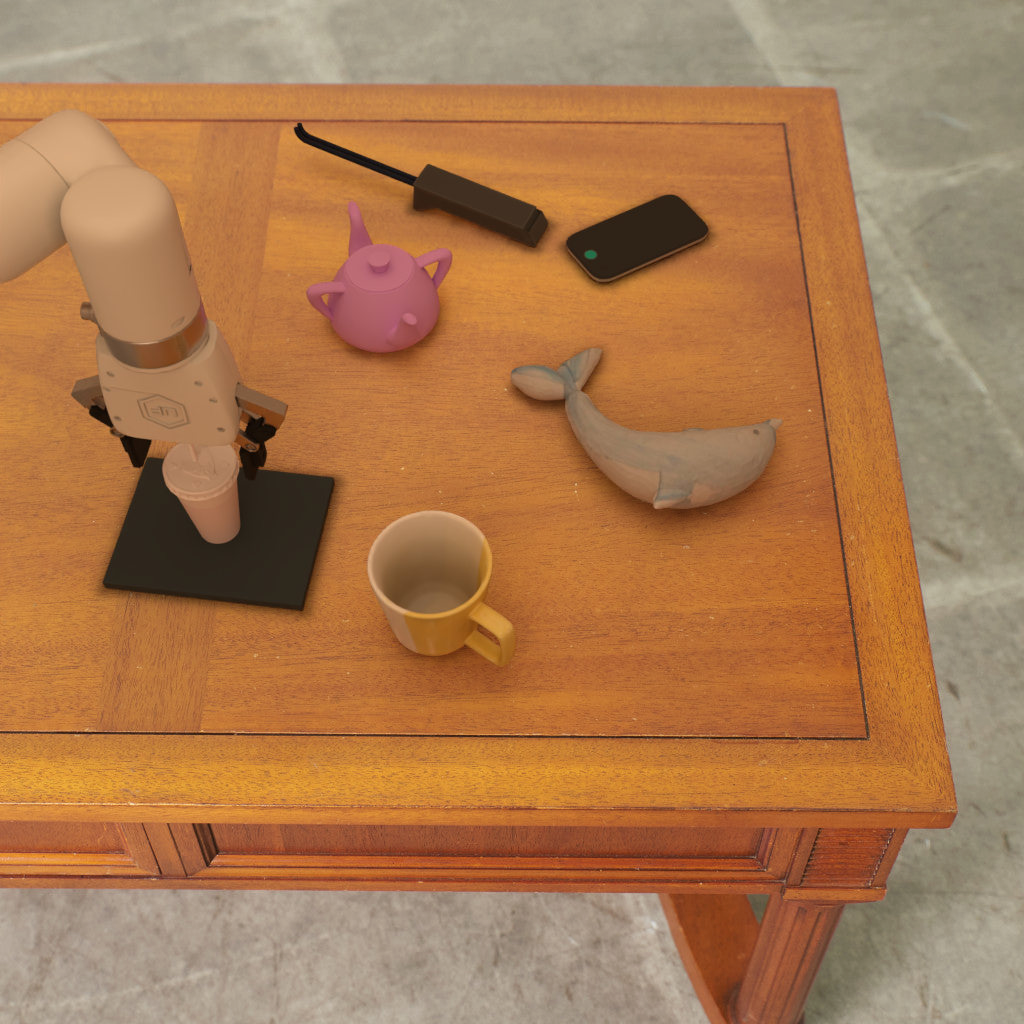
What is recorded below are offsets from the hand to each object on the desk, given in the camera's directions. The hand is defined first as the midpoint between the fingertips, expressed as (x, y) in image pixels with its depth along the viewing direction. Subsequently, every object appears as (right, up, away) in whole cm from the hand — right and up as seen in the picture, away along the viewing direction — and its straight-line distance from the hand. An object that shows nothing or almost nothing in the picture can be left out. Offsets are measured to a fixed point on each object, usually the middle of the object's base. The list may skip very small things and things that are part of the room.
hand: (198, 460), depth 108 cm
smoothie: (0, -6, +9) cm, 11 cm away
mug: (+21, -15, +4) cm, 26 cm away
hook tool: (+16, +31, +35) cm, 50 cm away
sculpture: (+40, +4, +17) cm, 44 cm away
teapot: (+13, +15, +24) cm, 32 cm away
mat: (0, -6, +9) cm, 11 cm away
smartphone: (+40, +25, +31) cm, 57 cm away
